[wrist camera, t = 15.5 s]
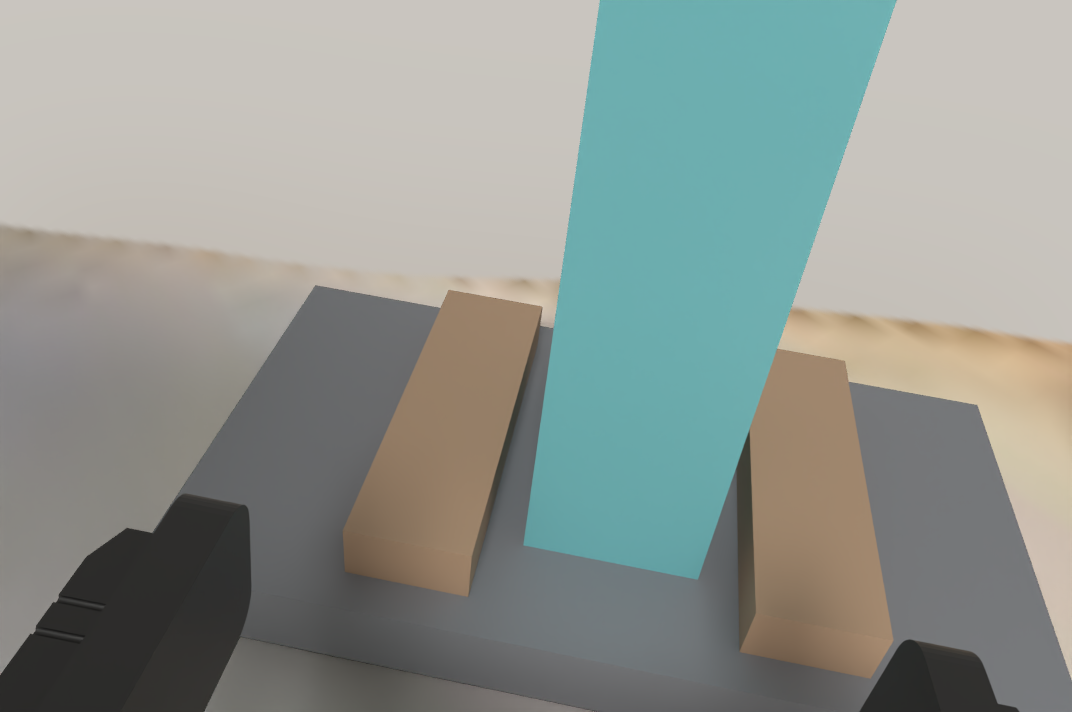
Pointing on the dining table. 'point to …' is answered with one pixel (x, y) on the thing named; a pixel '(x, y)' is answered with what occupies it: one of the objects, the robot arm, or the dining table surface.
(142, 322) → the dining table surface
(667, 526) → the long teal prism
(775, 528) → the display stand
